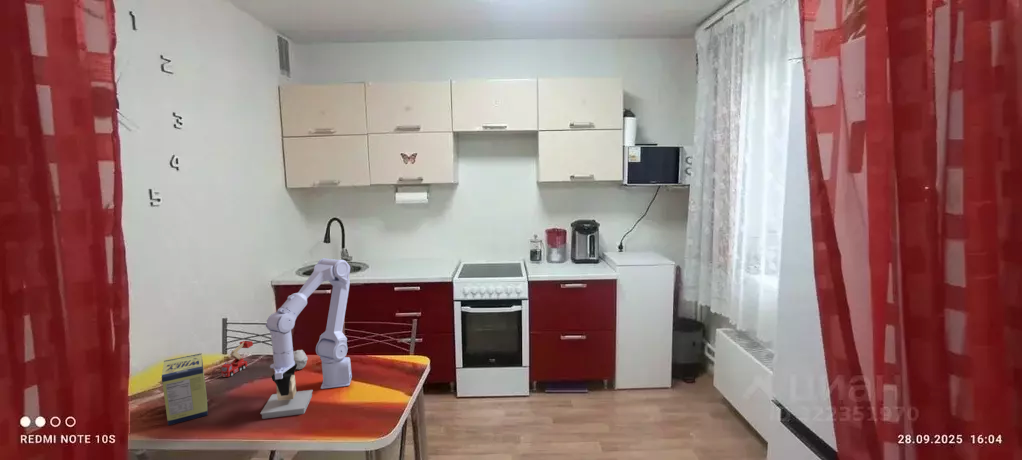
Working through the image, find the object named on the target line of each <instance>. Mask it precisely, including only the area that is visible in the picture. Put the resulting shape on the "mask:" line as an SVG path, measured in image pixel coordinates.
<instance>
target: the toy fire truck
mask: <svg viewBox="0 0 1022 460" xmlns="http://www.w3.org/2000/svg"><path fill="white" fill-rule="evenodd" d="M253 345H254V343H253V341H252V340H244V341H240V342H239V345H238V346H237V347H236V348H235V349H233V350H231V353H230V356H231V357H233V358H234V360H232V362H230V363H226V362H225V363H224V364H222V365H221V377H224V378H229V377H233V376H234V374H237V373H238V372H241V371H243V370H245V369H246V367H248V361H245V358H243V357H242V356H241V355H240V353H239V352H238V351H240V350H241V349H249V348H251V347H253Z"/></svg>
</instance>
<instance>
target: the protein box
mask: <svg viewBox="0 0 1022 460" xmlns="http://www.w3.org/2000/svg"><path fill="white" fill-rule="evenodd" d="M202 356H203V355H202V353H196V354H191V355H186V356H181V357H176V358H171V359H166V360H163V366H162V373H161V382H162V391H163V397H164V398H163V399H164V405H165V410H166V411H165V412H166V420H167V426H171V425H176V424H179V423H182V422H183V423H184V422H186V421H190V420H193V419H198V418H202V417H205V416H206V417H207V416H208V415H209V414H208V413H209V410H208V395H207V387H206V386H207V385H206V377H205V371H204V361H203V357H202Z"/></svg>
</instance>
